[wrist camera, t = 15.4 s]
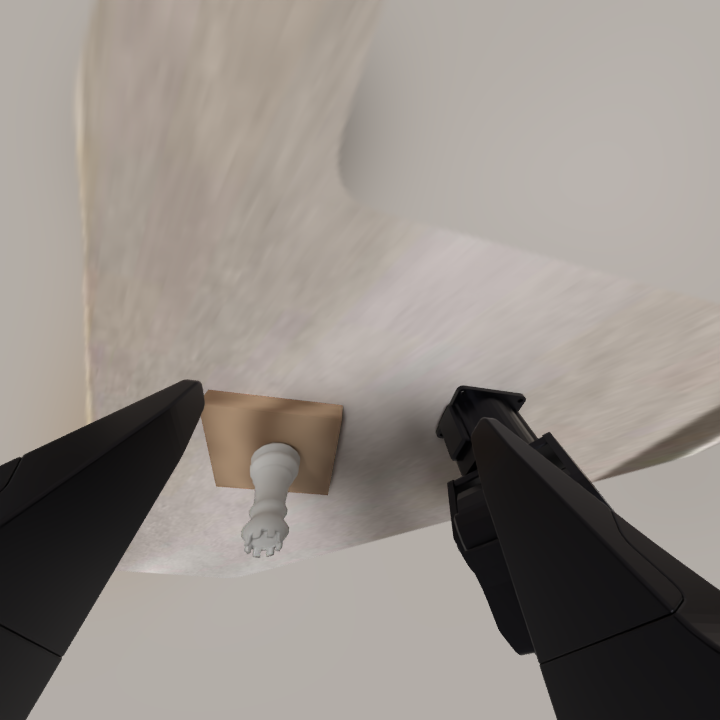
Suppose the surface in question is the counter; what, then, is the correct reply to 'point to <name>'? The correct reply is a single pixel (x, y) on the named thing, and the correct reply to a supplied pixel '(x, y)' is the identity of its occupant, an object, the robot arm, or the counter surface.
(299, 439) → the walnut block
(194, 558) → the counter surface
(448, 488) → the robot arm
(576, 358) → the counter surface
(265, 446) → the rook chess piece
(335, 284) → the counter surface
